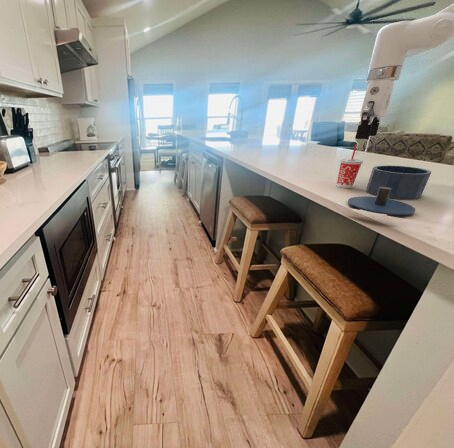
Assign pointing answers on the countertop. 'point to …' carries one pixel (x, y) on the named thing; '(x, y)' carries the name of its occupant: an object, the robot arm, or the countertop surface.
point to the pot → (399, 181)
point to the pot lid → (381, 204)
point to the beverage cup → (348, 171)
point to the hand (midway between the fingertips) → (365, 137)
